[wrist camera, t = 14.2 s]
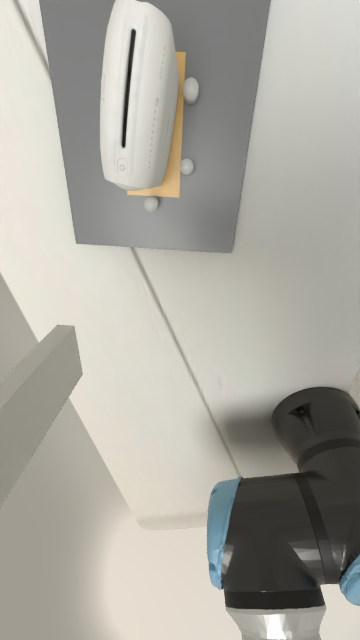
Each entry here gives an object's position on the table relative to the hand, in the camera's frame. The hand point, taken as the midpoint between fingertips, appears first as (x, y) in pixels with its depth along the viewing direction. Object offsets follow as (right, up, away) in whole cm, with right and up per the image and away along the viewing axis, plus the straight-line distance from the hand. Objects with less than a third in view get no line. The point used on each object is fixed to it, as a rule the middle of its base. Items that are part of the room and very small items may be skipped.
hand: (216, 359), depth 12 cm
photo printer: (-4, +21, +15) cm, 26 cm away
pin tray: (-4, +22, +16) cm, 27 cm away
